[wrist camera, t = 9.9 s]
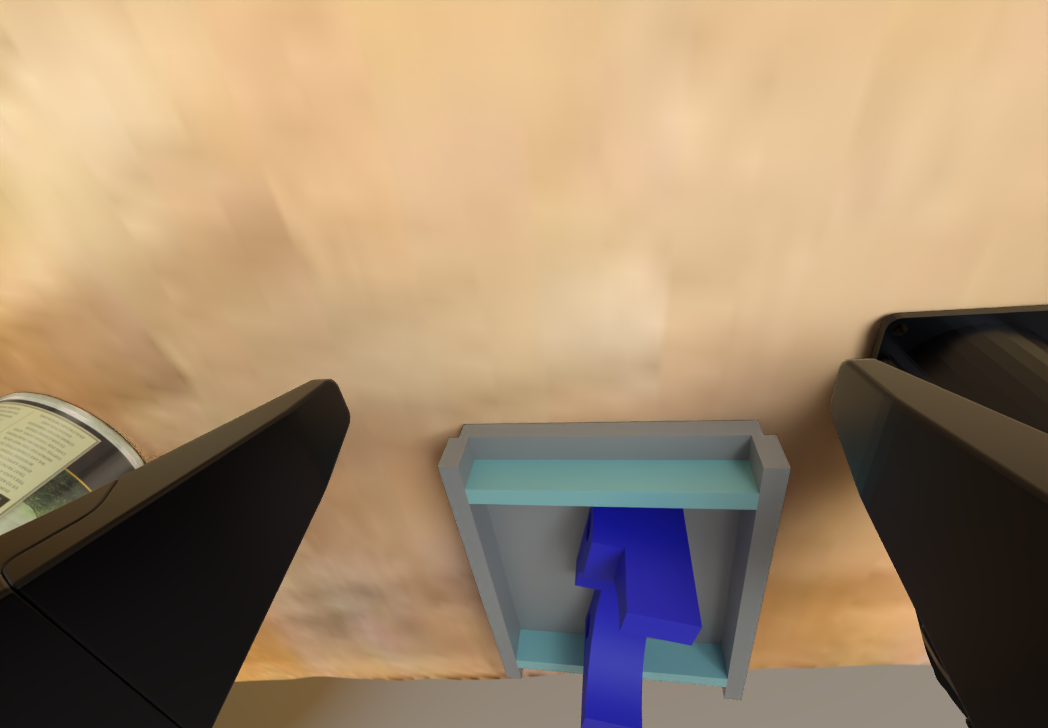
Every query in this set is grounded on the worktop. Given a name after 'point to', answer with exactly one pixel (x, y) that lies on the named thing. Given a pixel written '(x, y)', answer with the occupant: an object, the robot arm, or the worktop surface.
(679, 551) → the cable clip
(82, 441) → the coffee can
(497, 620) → the tray
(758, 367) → the worktop surface
